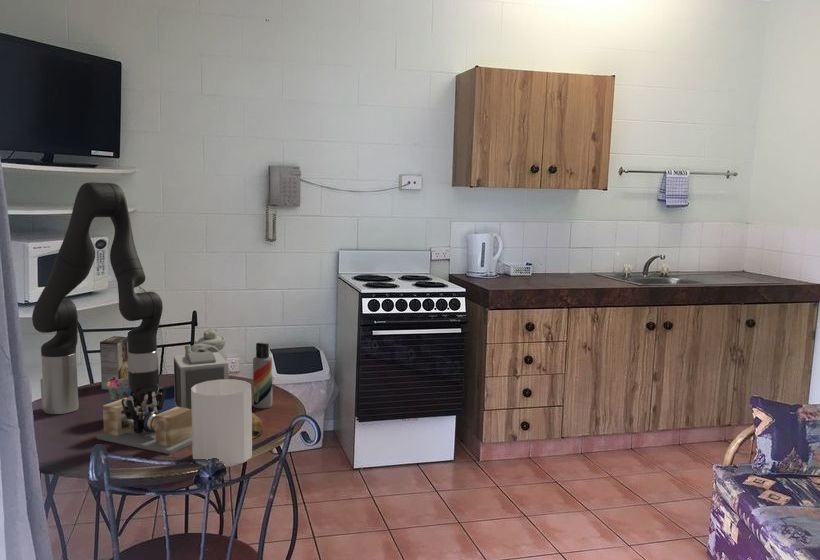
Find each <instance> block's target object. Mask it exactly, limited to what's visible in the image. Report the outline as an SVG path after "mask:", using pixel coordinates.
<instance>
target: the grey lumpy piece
mask: <svg viewBox="0 0 820 560" xmlns="http://www.w3.org/2000/svg"><path fill="white" fill-rule="evenodd" d="M225 344H226V338H225V337H223V336H220V335H217V328H215V327H213V329H211V328H209V329H206V330H205V331H204V332H203V336H200V337H197V338H196V339H195V340H194V343H193V345H190V344H186V345H185V346H184V349H185V353H184V355H185V354H186V353H197V352H209V351H211V352H212V353H214V352H219V353H220V355H221V356H222V357H223V358H224V359H225V360H226V361H227V362H228V356H227V355H228V354H227V351H226V349H225Z"/></svg>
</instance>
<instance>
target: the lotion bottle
mask: <svg viewBox="0 0 820 560" xmlns="http://www.w3.org/2000/svg"><path fill="white" fill-rule="evenodd" d="M269 351H270V344H269V343H266V342H256V344H255V357H253V359H252V371H253V372H252V378H253V383H252V385H253V390H252V391H253V407H254V408H257V409H269V408H271V407H272V406H273V358H272V357H271V356H270V352H269Z"/></svg>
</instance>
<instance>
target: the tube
mask: <svg viewBox="0 0 820 560" xmlns="http://www.w3.org/2000/svg"><path fill="white" fill-rule="evenodd" d="M157 414H159V412H158V413H157V412H149V413H148V412H143V416H142V420H143V423H142V426H143V429H144V430H145V431H146V432H150V433H152V432H154V431H155V415H157ZM137 415H138V412H137ZM121 420H122V424H124V425H129V426H134V421H133V420H132V419H127V418H126V415H125V412H124V410H123V411H121Z"/></svg>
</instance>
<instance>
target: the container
mask: <svg viewBox="0 0 820 560" xmlns="http://www.w3.org/2000/svg"><path fill="white" fill-rule="evenodd" d="M191 409H192V444H191V445H192V447H191V448H192V449H191V450H192V460H193V459H206V460H208V459H212V458H217V459H219V461H223V462H224V463H225V467H224V468H226V467H234V466H237V465H240V464H244V463H245V462H247V461H249V460H250V459H251V458H252V456H253V439H252V413H253V412H252V383H250V382H248V381H245V380H240V379H235V378H233V379H230V378H229V379H219V380H212V381H205V382H202V383H199V384H196V385H194V386H193V387H192V388H191Z"/></svg>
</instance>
